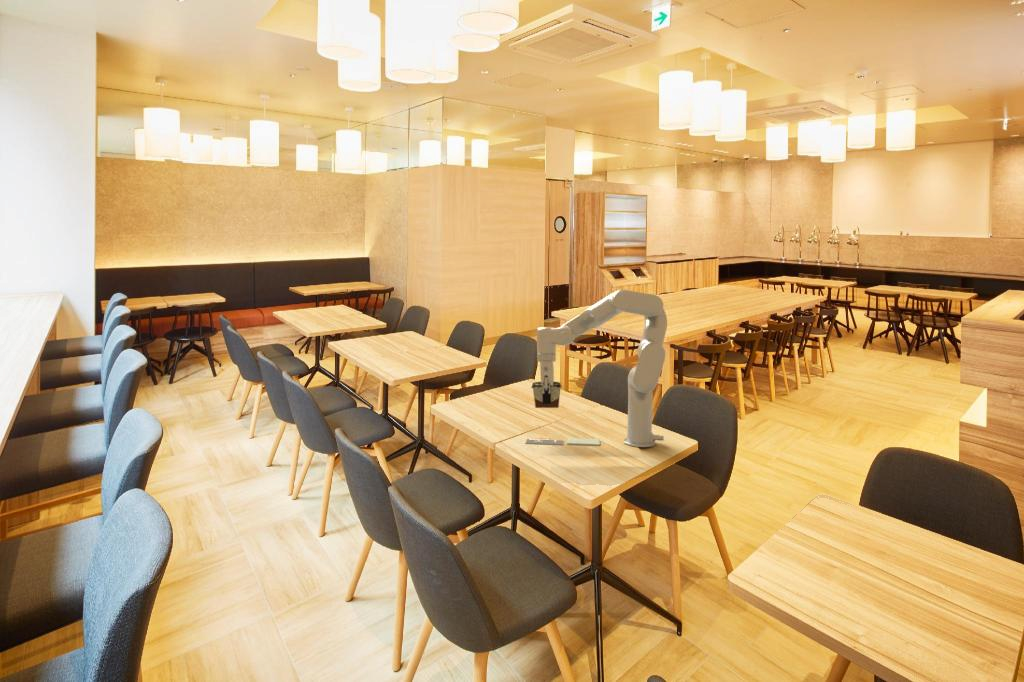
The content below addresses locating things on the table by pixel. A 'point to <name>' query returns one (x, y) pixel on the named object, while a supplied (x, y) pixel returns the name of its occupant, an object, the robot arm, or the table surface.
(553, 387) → the food container
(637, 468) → the table surface
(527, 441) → the tile
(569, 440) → the pad
